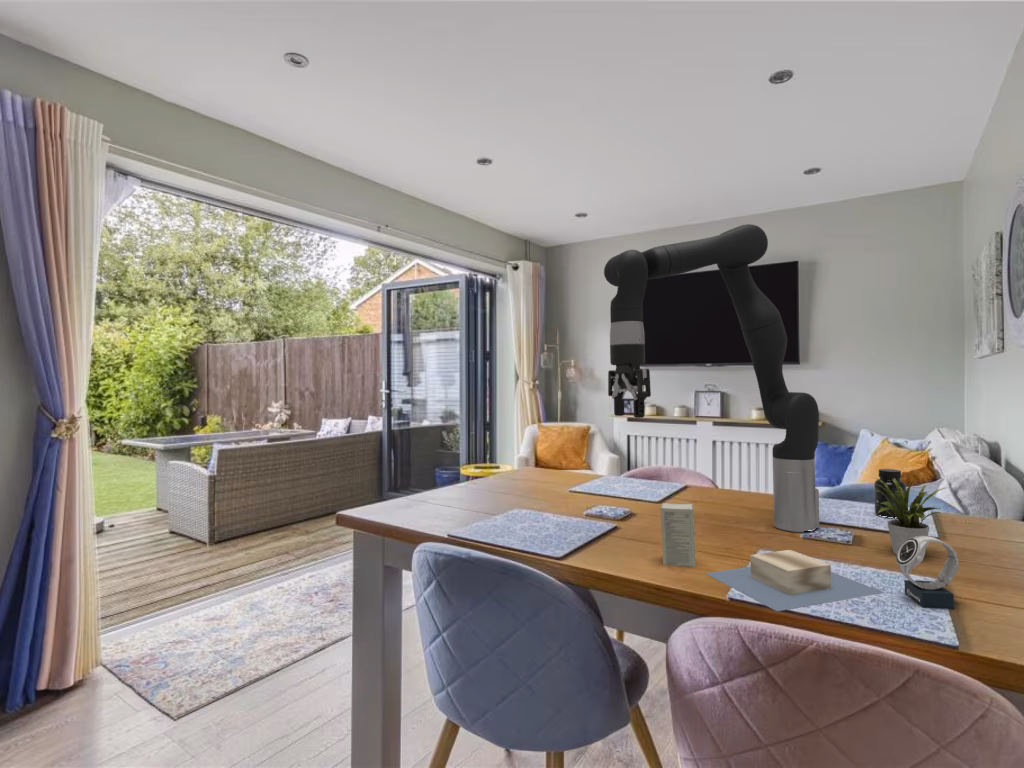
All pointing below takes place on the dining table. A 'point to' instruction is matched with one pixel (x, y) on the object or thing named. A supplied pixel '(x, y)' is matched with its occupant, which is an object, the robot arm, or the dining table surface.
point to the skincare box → (678, 534)
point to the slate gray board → (782, 601)
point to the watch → (927, 591)
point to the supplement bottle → (887, 478)
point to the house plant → (906, 515)
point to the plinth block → (790, 571)
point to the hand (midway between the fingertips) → (628, 416)
